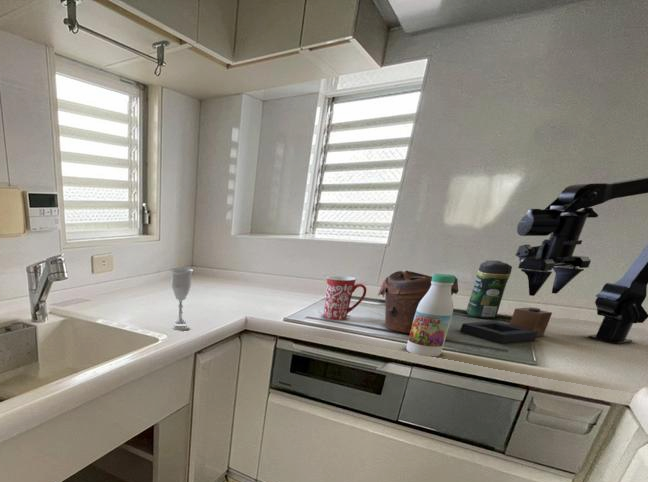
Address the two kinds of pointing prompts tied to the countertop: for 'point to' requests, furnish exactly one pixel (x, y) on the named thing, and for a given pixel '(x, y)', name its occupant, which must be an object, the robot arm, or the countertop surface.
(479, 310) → the coffee jar
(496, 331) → the dark square frame
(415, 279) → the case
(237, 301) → the countertop surface
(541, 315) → the walnut block
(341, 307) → the mug
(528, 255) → the robot arm
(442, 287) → the milk bottle
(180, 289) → the chalice
